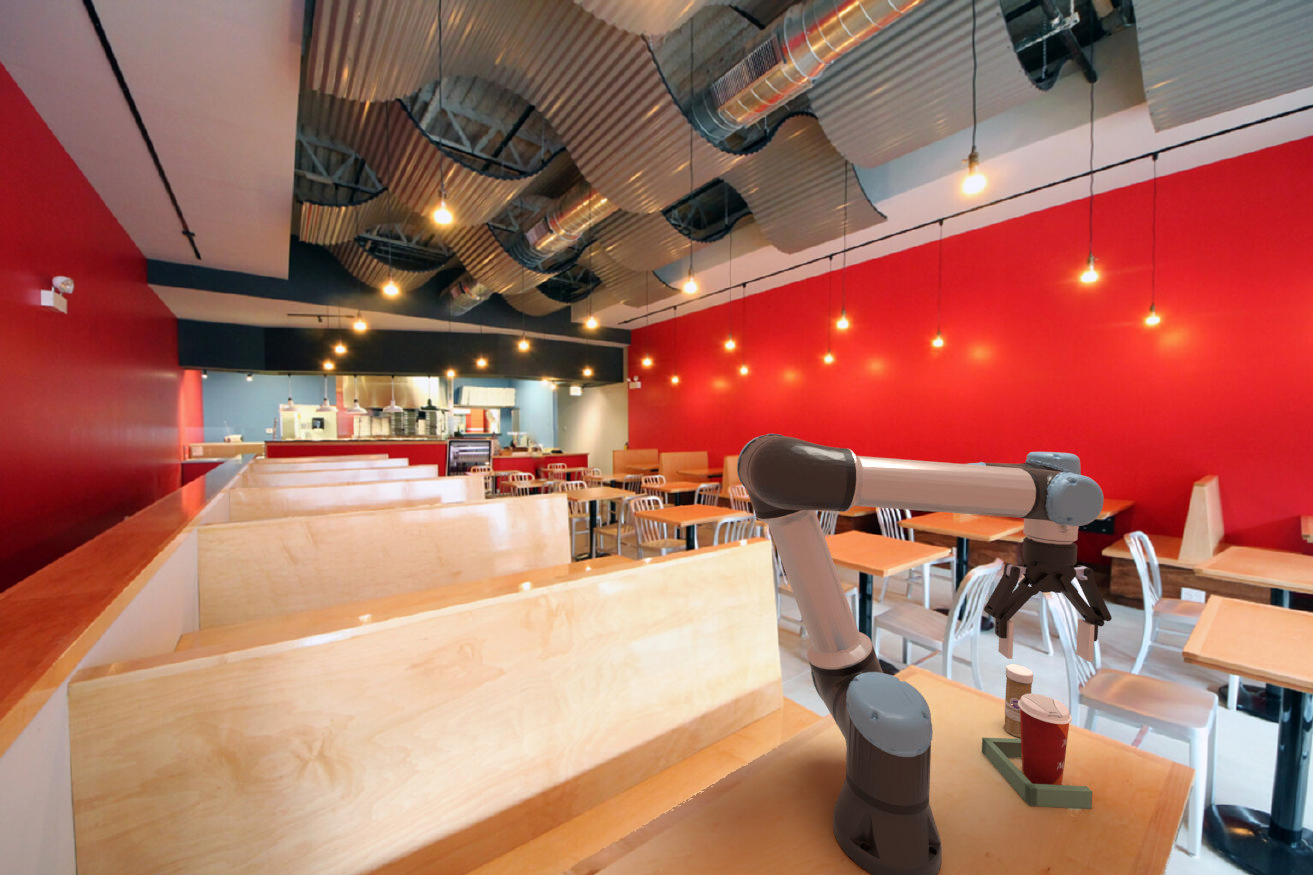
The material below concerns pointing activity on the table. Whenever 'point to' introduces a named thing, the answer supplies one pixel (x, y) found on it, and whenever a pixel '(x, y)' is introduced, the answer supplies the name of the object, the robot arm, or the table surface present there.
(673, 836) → the table surface
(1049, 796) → the green pocket
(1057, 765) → the paper cup
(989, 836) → the table surface
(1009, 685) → the sprinkles bottle
